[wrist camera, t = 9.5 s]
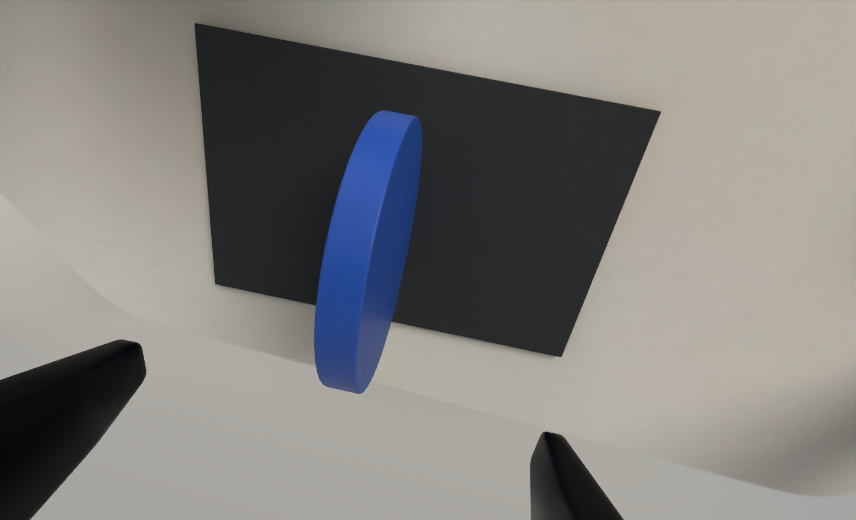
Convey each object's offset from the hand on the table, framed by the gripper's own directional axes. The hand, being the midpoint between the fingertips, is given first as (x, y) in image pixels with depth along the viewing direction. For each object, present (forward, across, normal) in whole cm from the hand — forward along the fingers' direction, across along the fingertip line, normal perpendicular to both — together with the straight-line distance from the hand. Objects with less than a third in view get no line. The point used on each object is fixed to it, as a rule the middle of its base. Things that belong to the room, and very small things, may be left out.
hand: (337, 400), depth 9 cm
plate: (+12, +1, 0) cm, 12 cm away
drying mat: (+12, +1, 0) cm, 12 cm away
